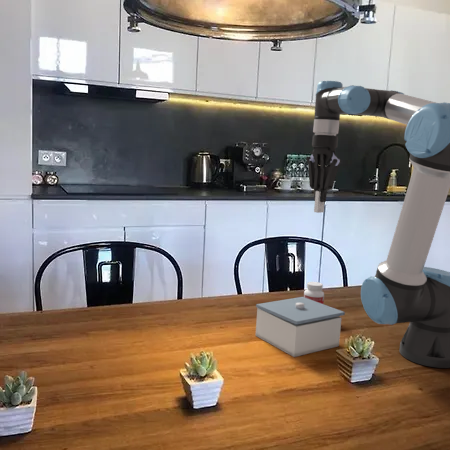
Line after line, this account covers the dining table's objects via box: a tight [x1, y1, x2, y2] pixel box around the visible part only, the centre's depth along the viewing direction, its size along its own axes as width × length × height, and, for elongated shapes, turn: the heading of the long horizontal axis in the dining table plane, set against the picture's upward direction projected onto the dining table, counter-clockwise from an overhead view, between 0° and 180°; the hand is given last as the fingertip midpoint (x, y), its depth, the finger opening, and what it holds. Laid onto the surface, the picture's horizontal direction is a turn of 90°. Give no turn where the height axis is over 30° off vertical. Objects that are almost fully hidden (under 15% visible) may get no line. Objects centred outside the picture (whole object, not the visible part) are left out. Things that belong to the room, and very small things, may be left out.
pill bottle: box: [303, 281, 325, 305], centre depth 163 cm, size 6×6×11 cm
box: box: [255, 307, 342, 358], centre depth 144 cm, size 16×16×8 cm
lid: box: [255, 296, 346, 325], centre depth 143 cm, size 16×17×2 cm
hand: (318, 212), depth 164 cm, fingers closed
